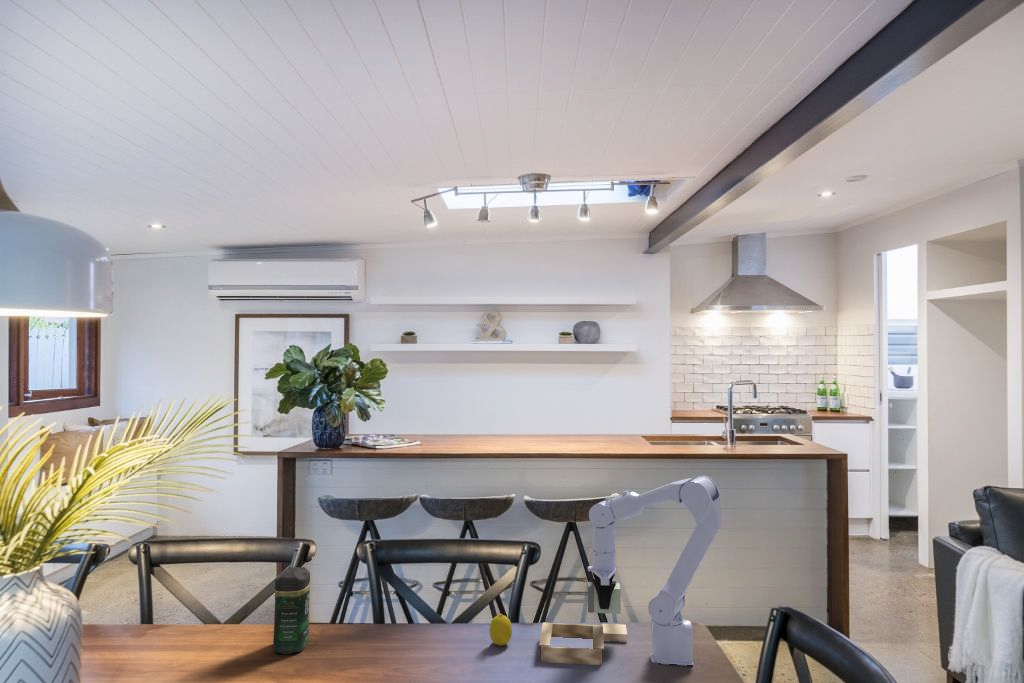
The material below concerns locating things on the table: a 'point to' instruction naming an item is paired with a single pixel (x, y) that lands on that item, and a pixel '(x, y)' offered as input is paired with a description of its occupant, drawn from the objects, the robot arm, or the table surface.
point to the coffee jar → (291, 610)
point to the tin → (594, 602)
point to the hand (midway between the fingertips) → (604, 604)
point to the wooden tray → (569, 653)
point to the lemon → (500, 630)
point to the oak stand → (614, 632)
